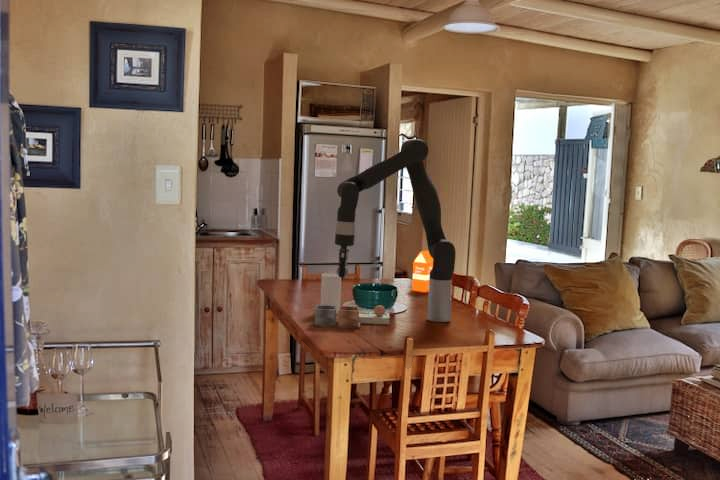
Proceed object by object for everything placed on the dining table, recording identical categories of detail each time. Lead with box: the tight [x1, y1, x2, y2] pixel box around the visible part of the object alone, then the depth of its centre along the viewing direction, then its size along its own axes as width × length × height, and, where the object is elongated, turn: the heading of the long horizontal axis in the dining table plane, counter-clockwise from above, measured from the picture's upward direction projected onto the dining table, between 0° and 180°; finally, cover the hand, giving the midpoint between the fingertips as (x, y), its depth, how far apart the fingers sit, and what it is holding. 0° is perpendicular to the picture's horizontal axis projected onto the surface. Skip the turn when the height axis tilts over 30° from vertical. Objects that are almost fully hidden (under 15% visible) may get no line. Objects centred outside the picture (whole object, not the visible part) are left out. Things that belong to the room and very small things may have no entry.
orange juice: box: [411, 250, 433, 293], centre depth 348 cm, size 8×9×20 cm
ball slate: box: [336, 266, 349, 278], centre depth 271 cm, size 4×4×4 cm
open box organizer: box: [312, 304, 361, 330], centre depth 269 cm, size 18×9×7 cm, turn 89°
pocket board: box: [359, 311, 390, 325], centre depth 278 cm, size 15×10×2 cm, turn 89°
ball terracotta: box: [373, 304, 386, 317], centre depth 278 cm, size 4×4×4 cm
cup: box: [320, 272, 342, 315], centre depth 290 cm, size 8×8×16 cm
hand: (342, 275), depth 272 cm, fingers closed on ball slate, 4 cm apart
